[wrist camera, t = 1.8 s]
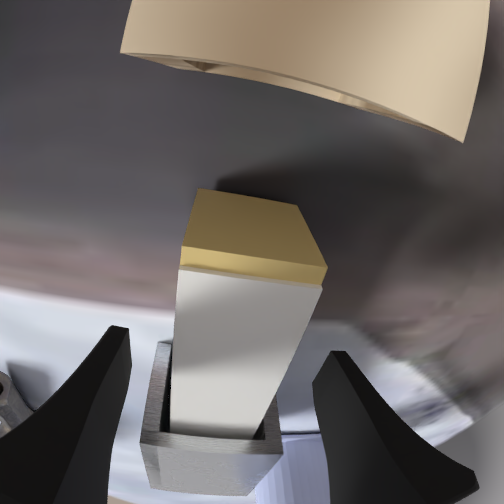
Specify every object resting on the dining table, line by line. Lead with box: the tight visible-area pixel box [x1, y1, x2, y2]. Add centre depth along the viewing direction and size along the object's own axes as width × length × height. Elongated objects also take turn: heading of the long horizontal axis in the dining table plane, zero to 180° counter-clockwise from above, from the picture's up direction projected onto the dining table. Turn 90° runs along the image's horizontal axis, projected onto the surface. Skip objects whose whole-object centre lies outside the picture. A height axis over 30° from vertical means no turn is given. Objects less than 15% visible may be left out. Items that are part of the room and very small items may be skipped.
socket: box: [120, 0, 490, 143], centre depth 6 cm, size 7×5×6 cm
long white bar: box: [170, 188, 328, 440], centre depth 14 cm, size 4×17×5 cm, turn 168°
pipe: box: [0, 371, 34, 438], centre depth 18 cm, size 6×13×8 cm, turn 164°
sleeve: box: [140, 342, 284, 496], centre depth 17 cm, size 7×9×6 cm
